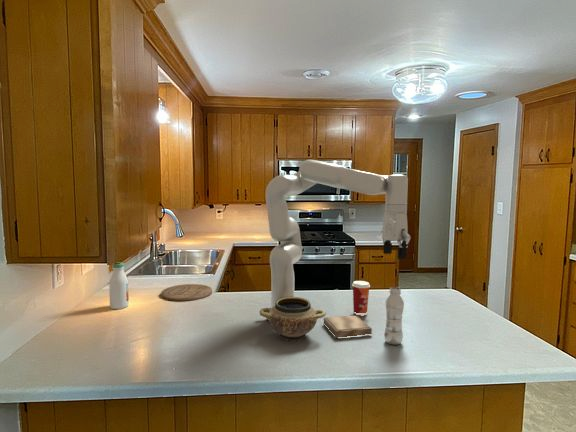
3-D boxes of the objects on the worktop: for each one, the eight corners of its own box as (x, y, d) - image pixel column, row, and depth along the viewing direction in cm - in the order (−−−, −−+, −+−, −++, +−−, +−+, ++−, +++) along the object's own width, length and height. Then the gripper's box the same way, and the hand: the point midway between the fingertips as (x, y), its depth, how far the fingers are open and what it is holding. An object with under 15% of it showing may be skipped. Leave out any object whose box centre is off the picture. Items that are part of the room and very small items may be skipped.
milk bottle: (123, 309, 161) (122, 265, 159) (106, 309, 161) (105, 265, 159) (131, 304, 168) (130, 261, 167) (115, 303, 168) (114, 261, 167)
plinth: (336, 339, 133) (336, 330, 132) (323, 325, 146) (323, 317, 146) (371, 336, 136) (371, 327, 136) (356, 322, 149) (356, 314, 149)
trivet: (218, 288, 197) (217, 285, 197) (202, 303, 172) (202, 299, 172) (173, 286, 199) (173, 283, 199) (152, 300, 175) (152, 297, 174)
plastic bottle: (381, 344, 129) (383, 289, 127) (386, 337, 135) (388, 284, 133) (400, 348, 126) (402, 292, 124) (404, 341, 132) (406, 287, 130)
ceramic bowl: (255, 348, 131) (253, 312, 126) (266, 319, 147) (264, 286, 142) (324, 354, 127) (324, 317, 122) (327, 323, 143) (327, 290, 138)
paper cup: (364, 318, 154) (365, 286, 153) (348, 314, 159) (349, 283, 158) (372, 313, 160) (373, 282, 159) (356, 309, 165) (357, 279, 164)
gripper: (374, 207, 138) (373, 252, 140) (400, 210, 122) (398, 261, 123) (392, 207, 140) (391, 251, 142) (419, 210, 124) (417, 260, 125)
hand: (394, 256), depth 132 cm, fingers open, 9 cm apart
